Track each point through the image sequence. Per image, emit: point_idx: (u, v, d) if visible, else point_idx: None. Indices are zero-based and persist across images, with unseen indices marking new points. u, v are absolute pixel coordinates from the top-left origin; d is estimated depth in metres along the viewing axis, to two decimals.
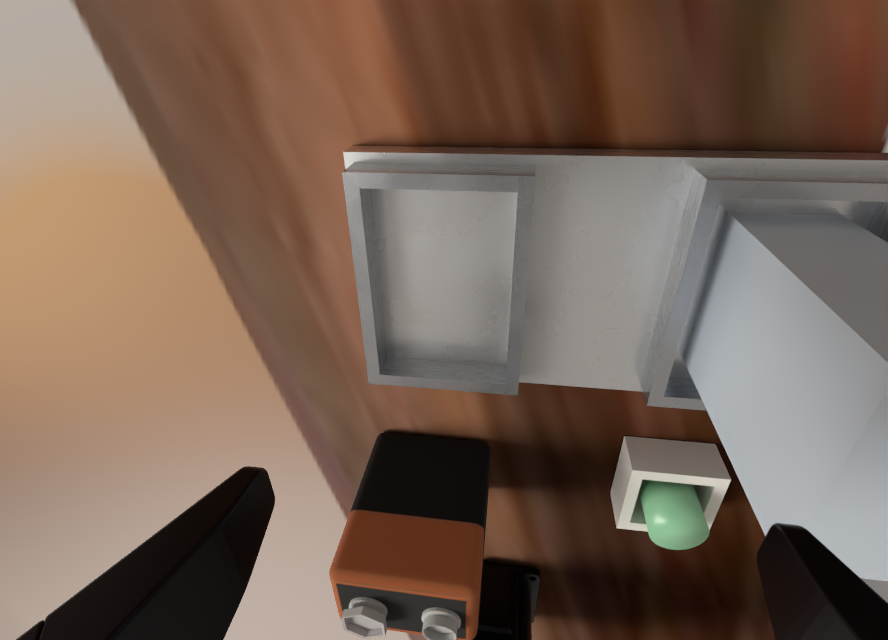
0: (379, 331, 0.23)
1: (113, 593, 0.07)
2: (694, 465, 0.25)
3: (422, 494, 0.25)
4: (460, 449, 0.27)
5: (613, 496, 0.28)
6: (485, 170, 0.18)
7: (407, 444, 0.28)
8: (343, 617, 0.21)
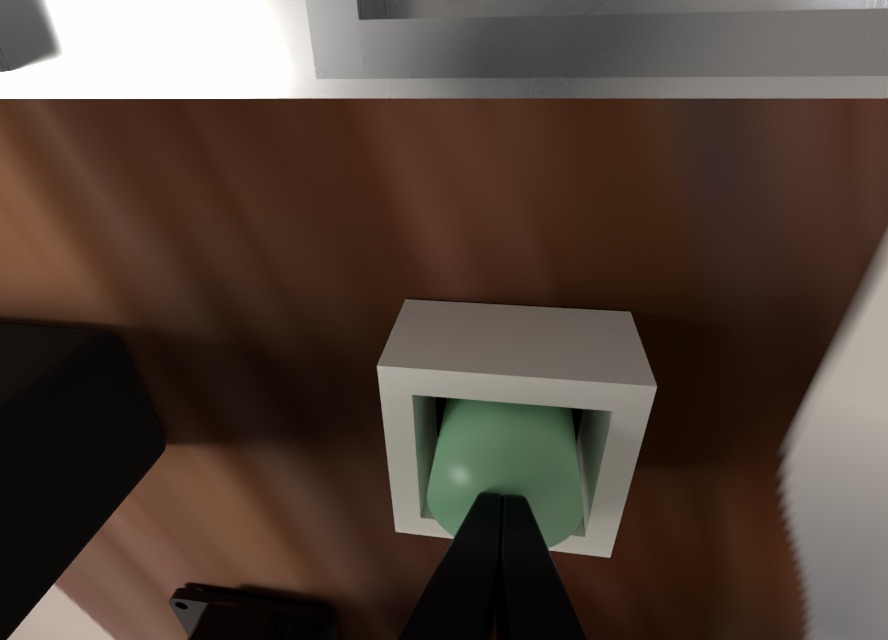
0: None
1: None
2: (558, 353, 0.09)
3: None
4: (27, 343, 0.11)
5: None
6: None
7: None
8: None
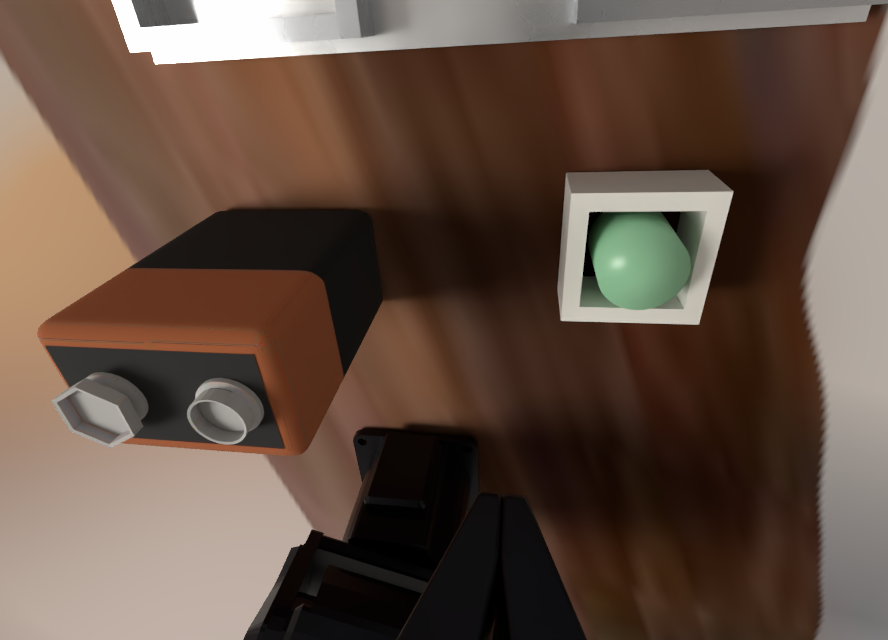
0: None
1: None
2: (672, 184, 0.15)
3: (240, 251, 0.16)
4: (321, 216, 0.18)
5: (559, 285, 0.19)
6: None
7: (247, 216, 0.19)
8: (55, 400, 0.12)
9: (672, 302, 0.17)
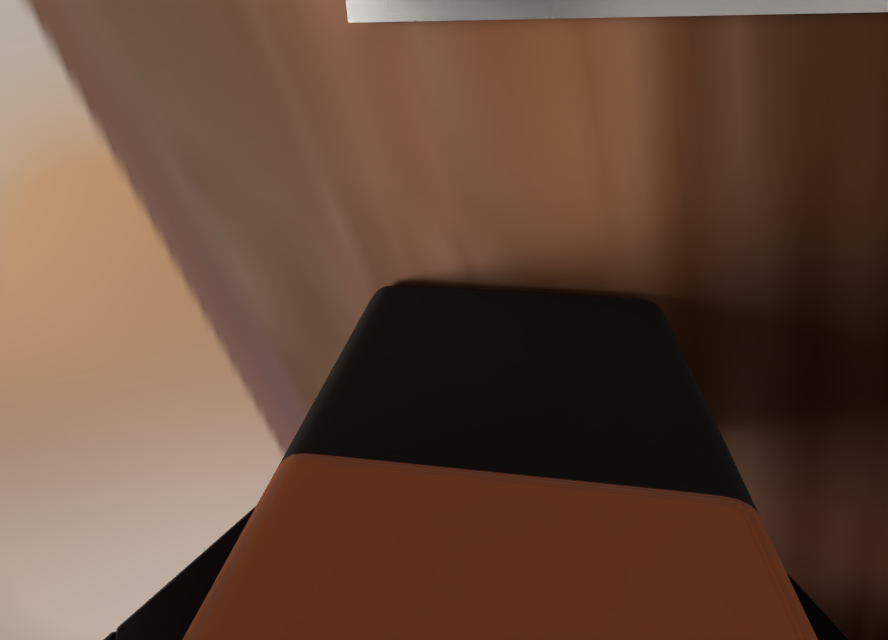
0: None
1: (181, 603, 0.06)
2: None
3: (515, 410, 0.08)
4: (592, 311, 0.10)
5: None
6: None
7: (451, 302, 0.11)
8: None
9: None
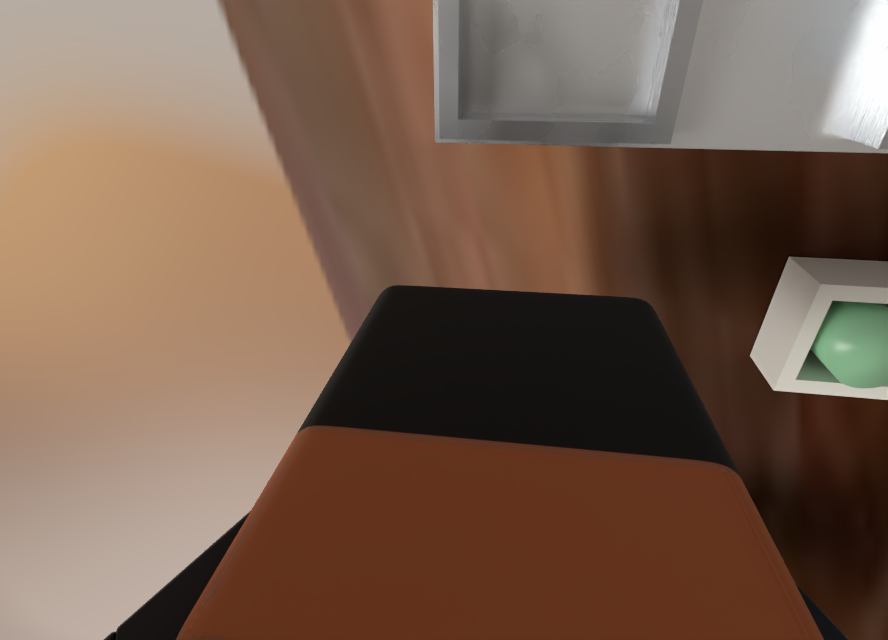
0: (461, 46, 0.15)
1: (181, 603, 0.06)
2: None
3: (515, 390, 0.08)
4: (587, 308, 0.11)
5: (760, 354, 0.20)
6: None
7: (454, 299, 0.11)
8: None
9: None
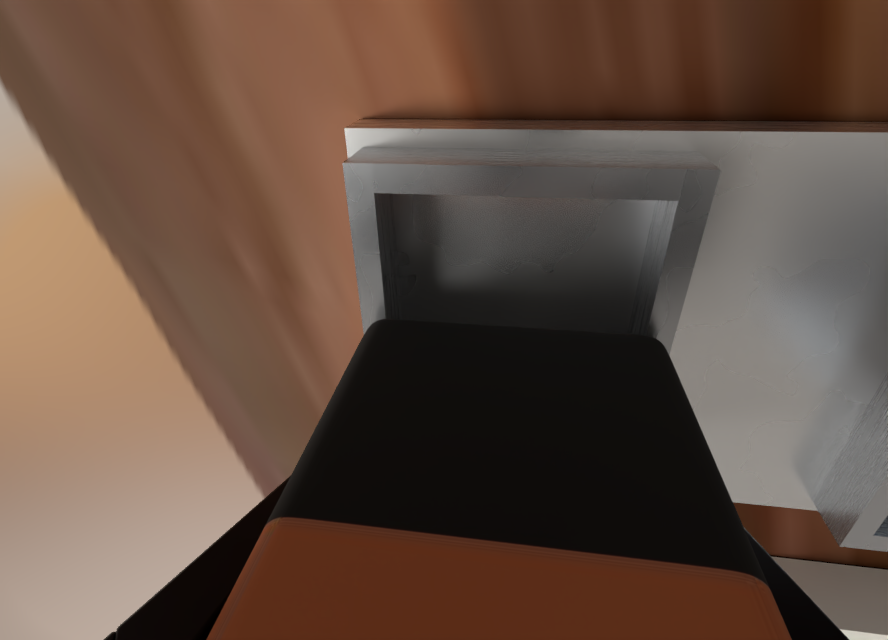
0: None
1: (181, 603, 0.06)
2: (878, 612, 0.16)
3: (513, 466, 0.07)
4: (593, 349, 0.10)
5: None
6: (611, 159, 0.10)
7: (447, 339, 0.10)
8: None
9: None
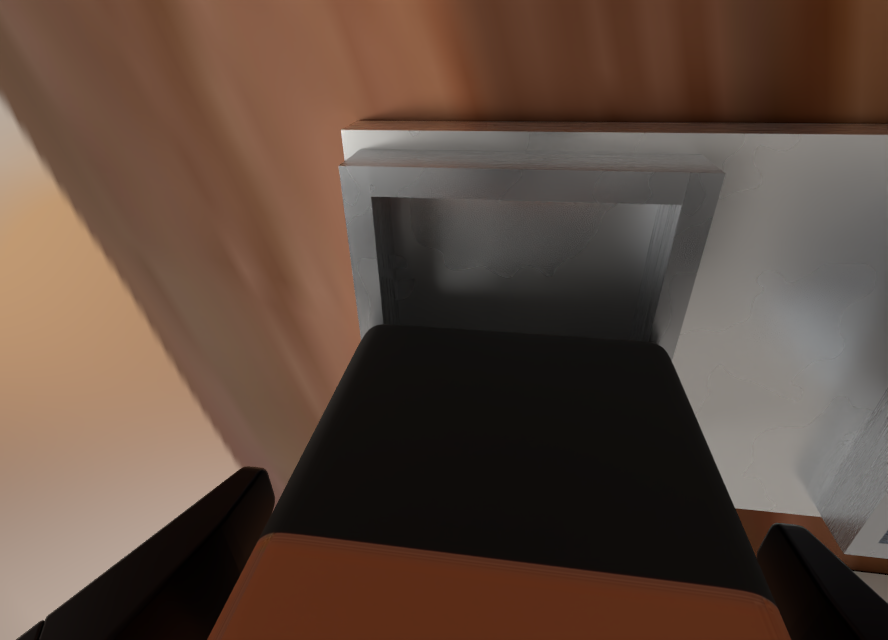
0: None
1: (113, 593, 0.07)
2: None
3: (513, 478, 0.07)
4: (594, 356, 0.10)
5: None
6: (613, 162, 0.09)
7: (445, 345, 0.10)
8: None
9: None
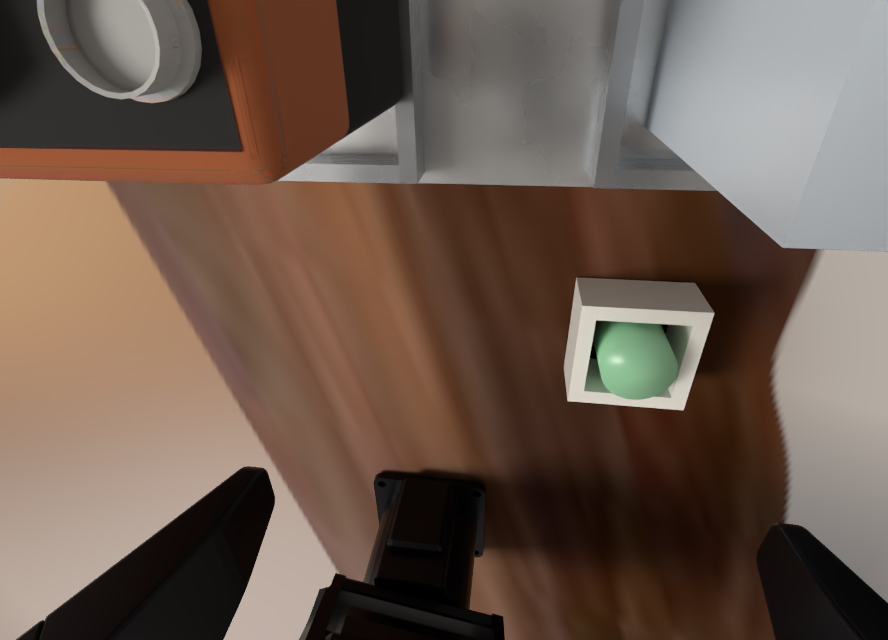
0: None
1: (113, 593, 0.07)
2: (665, 300, 0.18)
3: None
4: None
5: (566, 366, 0.22)
6: None
7: None
8: None
9: None
